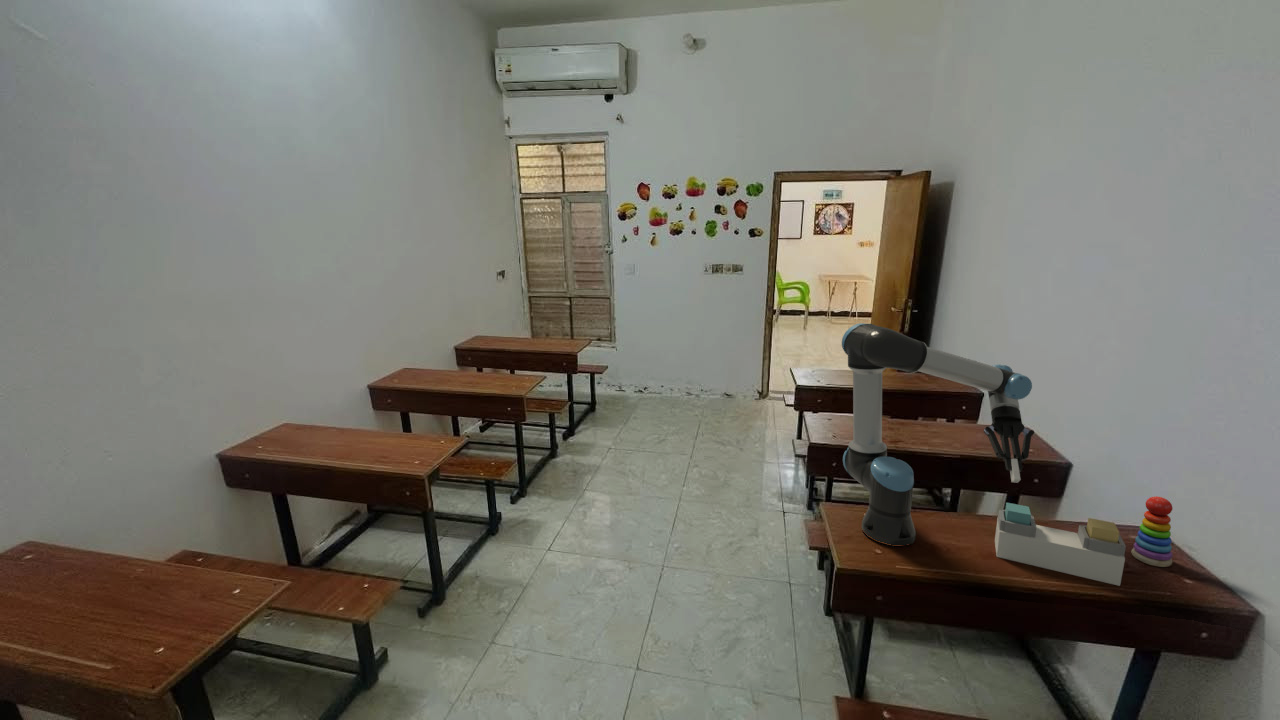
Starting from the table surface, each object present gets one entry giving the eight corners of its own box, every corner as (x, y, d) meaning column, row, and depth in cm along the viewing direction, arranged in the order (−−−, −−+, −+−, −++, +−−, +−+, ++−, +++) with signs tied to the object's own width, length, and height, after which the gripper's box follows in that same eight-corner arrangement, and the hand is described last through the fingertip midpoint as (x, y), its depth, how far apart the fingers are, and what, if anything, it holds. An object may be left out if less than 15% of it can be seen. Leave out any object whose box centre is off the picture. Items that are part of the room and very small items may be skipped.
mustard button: (1090, 538, 130) (1092, 526, 129) (1086, 529, 134) (1088, 517, 133) (1117, 544, 127) (1119, 532, 126) (1112, 534, 131) (1114, 522, 131)
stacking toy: (1153, 551, 140) (1165, 491, 136) (1180, 569, 132) (1193, 505, 129) (1122, 550, 141) (1133, 491, 137) (1148, 568, 133) (1160, 505, 129)
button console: (996, 556, 141) (1000, 521, 138) (994, 541, 148) (998, 507, 146) (1120, 586, 127) (1127, 547, 125) (1111, 567, 134) (1117, 530, 132)
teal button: (1006, 521, 139) (1007, 510, 139) (1004, 513, 144) (1006, 502, 143) (1029, 526, 137) (1031, 514, 136) (1027, 517, 141) (1028, 506, 140)
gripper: (1025, 417, 157) (1038, 488, 146) (977, 413, 162) (986, 482, 150) (1034, 406, 151) (1047, 479, 140) (984, 403, 156) (993, 473, 145)
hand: (1016, 480), depth 145 cm, fingers closed
